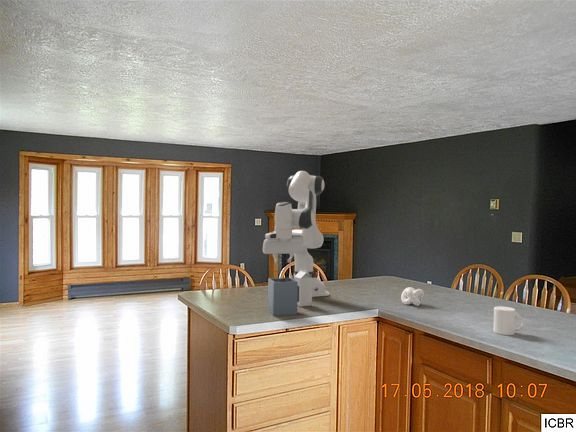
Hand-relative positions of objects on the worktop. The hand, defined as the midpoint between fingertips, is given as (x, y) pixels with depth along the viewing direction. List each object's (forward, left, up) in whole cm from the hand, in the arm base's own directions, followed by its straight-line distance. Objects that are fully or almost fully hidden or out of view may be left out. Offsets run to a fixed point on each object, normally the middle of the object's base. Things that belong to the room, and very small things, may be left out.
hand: (282, 262), depth 220 cm
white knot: (-75, -3, -25) cm, 79 cm away
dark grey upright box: (-1, 0, -25) cm, 25 cm away
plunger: (0, 0, -21) cm, 21 cm away
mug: (-85, +56, -25) cm, 105 cm away
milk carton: (-15, -14, -25) cm, 32 cm away
